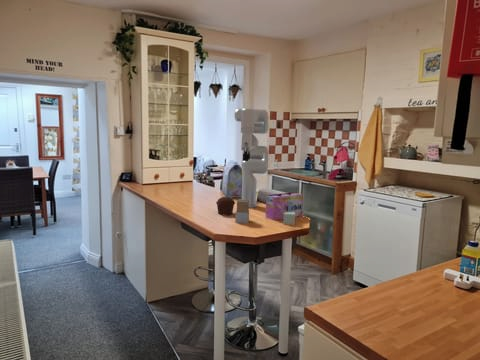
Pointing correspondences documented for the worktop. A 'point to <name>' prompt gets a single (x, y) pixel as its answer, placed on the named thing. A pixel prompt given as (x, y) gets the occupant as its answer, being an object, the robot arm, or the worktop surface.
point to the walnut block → (242, 205)
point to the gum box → (283, 205)
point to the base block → (241, 217)
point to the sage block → (289, 218)
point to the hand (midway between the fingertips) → (246, 160)
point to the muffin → (225, 205)
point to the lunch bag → (232, 180)
